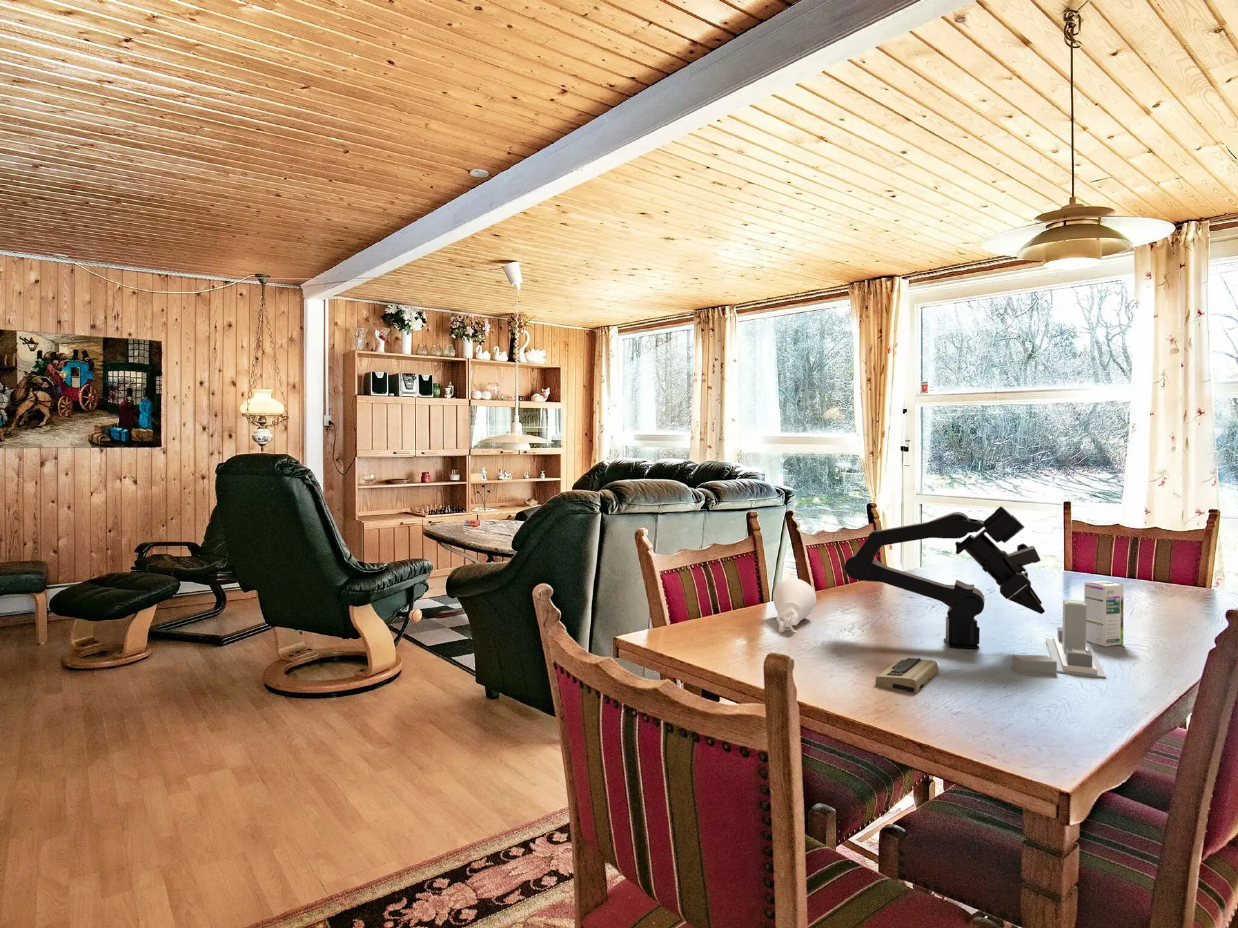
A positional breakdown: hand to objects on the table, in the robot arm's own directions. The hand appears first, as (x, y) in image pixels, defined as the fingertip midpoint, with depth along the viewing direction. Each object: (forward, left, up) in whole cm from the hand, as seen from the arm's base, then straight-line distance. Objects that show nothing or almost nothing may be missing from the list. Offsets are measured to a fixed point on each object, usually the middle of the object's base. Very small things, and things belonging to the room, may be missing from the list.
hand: (1041, 608), depth 167 cm
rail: (+6, -2, -10) cm, 12 cm away
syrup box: (+18, +13, -11) cm, 25 cm away
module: (+6, -2, -9) cm, 11 cm away
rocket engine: (-56, +17, -11) cm, 60 cm away
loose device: (-6, -14, -11) cm, 18 cm away
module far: (+9, +8, -9) cm, 15 cm away
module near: (+3, -11, -9) cm, 15 cm away
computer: (-33, -25, -11) cm, 43 cm away
